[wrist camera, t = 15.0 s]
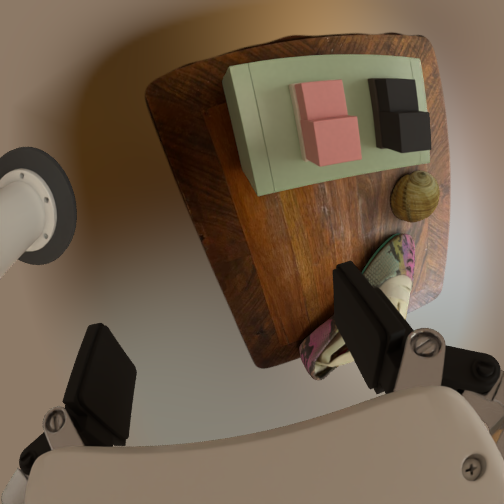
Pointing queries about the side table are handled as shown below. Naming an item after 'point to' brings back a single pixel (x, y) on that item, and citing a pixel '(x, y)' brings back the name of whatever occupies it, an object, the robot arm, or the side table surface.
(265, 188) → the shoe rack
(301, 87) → the pink stepped block
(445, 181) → the side table surface
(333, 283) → the robot arm
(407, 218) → the seashell
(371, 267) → the ballet flat
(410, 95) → the black stepped block
